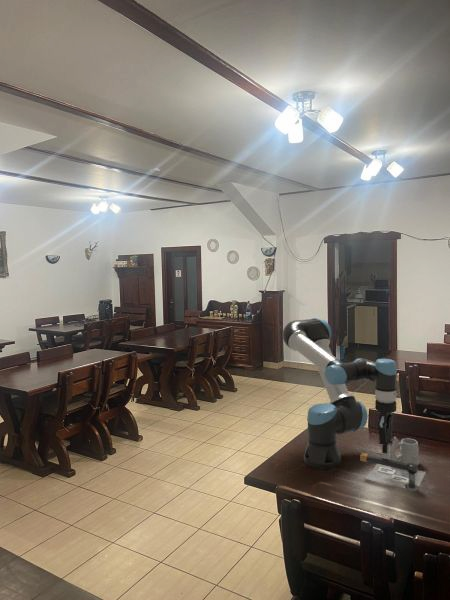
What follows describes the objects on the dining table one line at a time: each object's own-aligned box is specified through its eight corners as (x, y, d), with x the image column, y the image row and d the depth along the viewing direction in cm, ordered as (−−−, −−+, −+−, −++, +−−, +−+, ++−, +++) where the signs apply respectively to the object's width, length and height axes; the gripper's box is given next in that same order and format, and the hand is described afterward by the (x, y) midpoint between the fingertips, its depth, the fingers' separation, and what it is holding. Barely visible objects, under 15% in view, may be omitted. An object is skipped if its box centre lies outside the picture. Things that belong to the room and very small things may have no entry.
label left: (377, 471, 177) (377, 470, 177) (380, 467, 181) (380, 466, 180) (393, 475, 174) (393, 474, 174) (395, 471, 177) (395, 469, 177)
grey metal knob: (403, 490, 164) (403, 473, 163) (406, 484, 168) (406, 467, 167) (417, 494, 161) (417, 476, 161) (420, 488, 165) (420, 470, 165)
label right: (390, 480, 170) (390, 478, 170) (393, 475, 173) (393, 474, 173) (407, 484, 167) (407, 482, 167) (409, 479, 170) (409, 478, 170)
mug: (423, 468, 181) (423, 439, 180) (394, 470, 180) (394, 441, 179) (413, 460, 188) (413, 431, 187) (386, 461, 187) (386, 433, 186)
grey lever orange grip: (418, 470, 164) (418, 464, 164) (416, 474, 161) (416, 468, 161) (363, 457, 176) (362, 452, 176) (359, 461, 173) (359, 455, 173)
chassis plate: (366, 480, 172) (366, 478, 172) (378, 463, 186) (378, 461, 186) (416, 493, 162) (416, 491, 162) (425, 474, 176) (425, 472, 176)
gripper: (391, 406, 165) (391, 468, 167) (400, 397, 175) (400, 455, 177) (370, 403, 169) (370, 464, 171) (380, 394, 180) (380, 451, 182)
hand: (385, 459), depth 174 cm, fingers closed
